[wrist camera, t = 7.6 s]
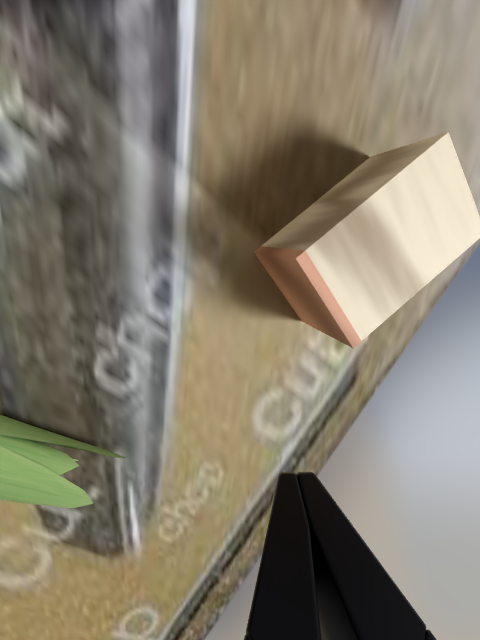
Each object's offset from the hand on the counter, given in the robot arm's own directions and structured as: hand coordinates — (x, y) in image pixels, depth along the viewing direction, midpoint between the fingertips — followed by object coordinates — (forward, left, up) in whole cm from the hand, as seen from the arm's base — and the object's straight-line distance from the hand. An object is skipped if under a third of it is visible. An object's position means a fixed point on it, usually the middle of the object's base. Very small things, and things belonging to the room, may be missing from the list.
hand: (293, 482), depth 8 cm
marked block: (+5, -4, -11) cm, 13 cm away
